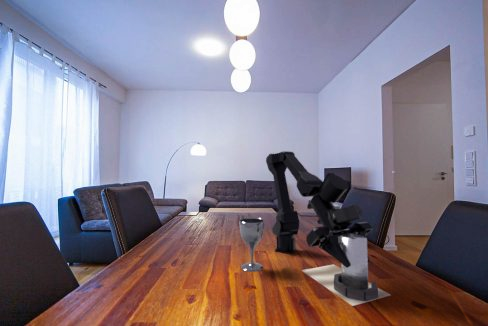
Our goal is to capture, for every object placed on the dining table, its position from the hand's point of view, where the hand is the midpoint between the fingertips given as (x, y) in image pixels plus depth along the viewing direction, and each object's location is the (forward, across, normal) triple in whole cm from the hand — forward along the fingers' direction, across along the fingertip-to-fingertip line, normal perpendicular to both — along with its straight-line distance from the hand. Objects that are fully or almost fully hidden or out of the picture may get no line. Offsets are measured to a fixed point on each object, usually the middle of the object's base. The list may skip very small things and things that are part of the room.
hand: (358, 264), depth 54 cm
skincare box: (-21, +26, +32) cm, 46 cm away
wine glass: (-12, -18, +23) cm, 32 cm away
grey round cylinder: (+4, 0, +6) cm, 7 cm away
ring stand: (+1, 0, +9) cm, 10 cm away
